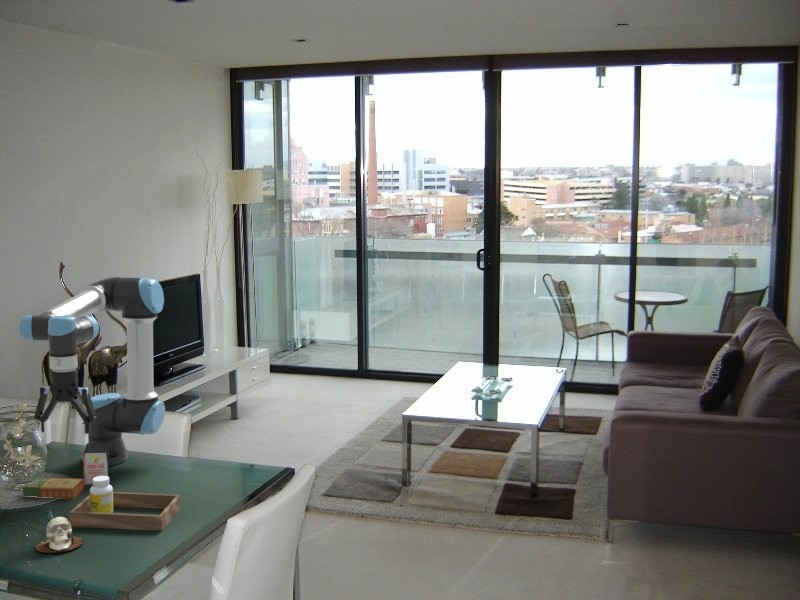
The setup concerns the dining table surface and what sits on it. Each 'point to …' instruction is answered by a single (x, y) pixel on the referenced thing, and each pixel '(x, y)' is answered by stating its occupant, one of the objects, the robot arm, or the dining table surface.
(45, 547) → the skull
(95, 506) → the pill bottle
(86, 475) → the white red printed box
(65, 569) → the dining table surface
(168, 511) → the walnut frame
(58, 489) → the carton
